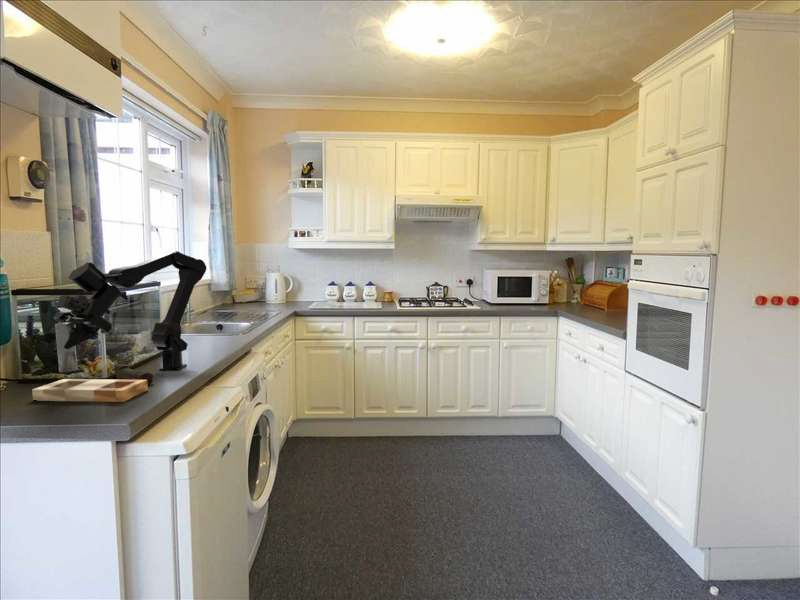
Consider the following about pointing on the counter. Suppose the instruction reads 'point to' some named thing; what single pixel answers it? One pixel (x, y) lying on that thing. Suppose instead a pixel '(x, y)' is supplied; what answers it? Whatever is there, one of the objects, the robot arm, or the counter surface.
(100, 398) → the rail board
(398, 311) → the counter surface
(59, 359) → the steel peg
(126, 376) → the brown rough long piece
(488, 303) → the counter surface
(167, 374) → the counter surface
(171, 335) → the robot arm
